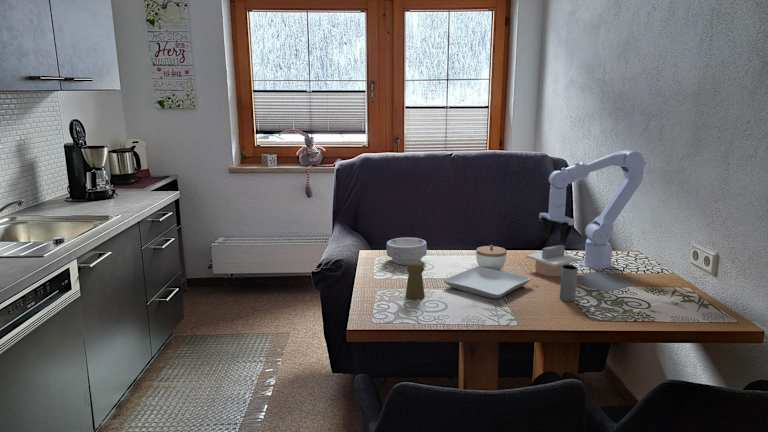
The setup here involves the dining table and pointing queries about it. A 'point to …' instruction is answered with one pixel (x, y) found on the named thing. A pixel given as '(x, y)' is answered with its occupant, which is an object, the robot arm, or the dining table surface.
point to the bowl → (548, 269)
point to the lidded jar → (491, 257)
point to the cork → (415, 281)
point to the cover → (553, 256)
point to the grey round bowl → (406, 250)
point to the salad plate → (486, 282)
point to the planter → (568, 282)
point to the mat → (603, 281)
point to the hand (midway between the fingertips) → (554, 240)
